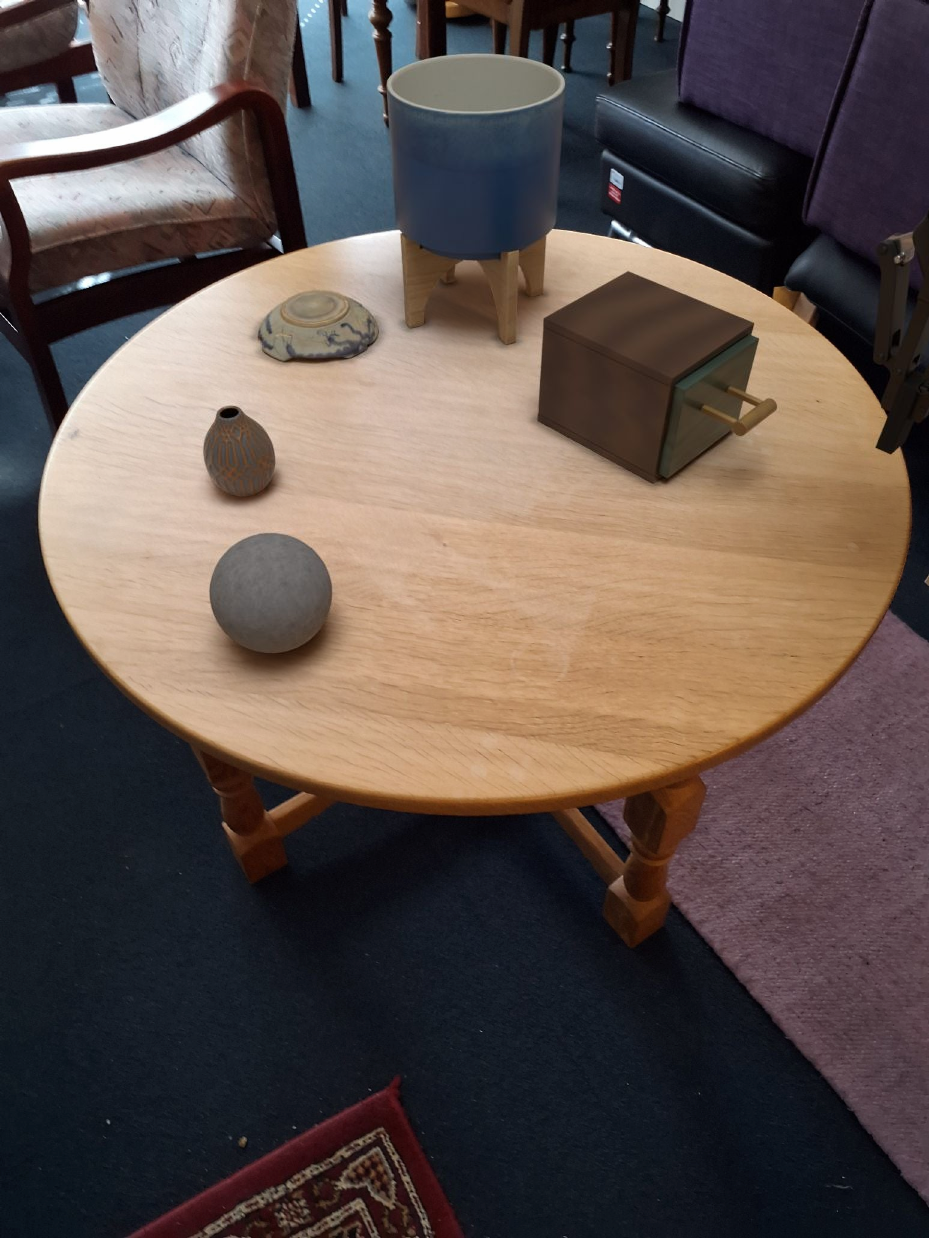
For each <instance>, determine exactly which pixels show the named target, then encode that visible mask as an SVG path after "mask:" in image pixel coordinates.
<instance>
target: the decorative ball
mask: <svg viewBox="0 0 929 1238" xmlns="http://www.w3.org/2000/svg"><path fill="white" fill-rule="evenodd" d="M208 590H209V591H208V593H209V602H210V607H211V611H212V614H213V616H214V618H215V620H216V622H217V624H218V626H219V627H220V629H221V630H222V631H223V632H224V633H225V634H226V635H227V637H229V638H230V639H231V640H232V641H234V643H237V644H238V645H240V646H241V647H243V648H246V649H247V650H251V651H253V652H254V651H255V652H258V653H265V654H278V653H286V652H289V651H292V650H295V649H297V648H299V647H301V646H302V645H304V644H306V643H307V642H309V641H310V640H312V639H313V637H315V636H316V634H318V632H319V631H320V630H321V629H322V627H323V626H324V625H325V622H326V620H327V618H328V616H329V614H330V611H331V607H332V602H333V584H332V579H331V576H330V572H329V570H328V568H327V565H326V564H325V562H324V560H322V558H321V556H320V555H319V554H318V553H317V551H315V550H314V548H313V547H311V546H310V545H308V544H307V543H305V542H304V541H303V540H301V539H299V538H296V537H294V536H291V535H289V534H285V533H279V532H263V533H257V534H253V535H250V536H247V537H244V538H243V539H241V540H239V541H237V542H236V543H234V544H233V545H231V546H230V547H229V548H227V550H226V552H224V554H222V556H220V558H219V559H218V561H217V563H216V565H215V567H214V569H213V572H212V575H211V578H210V583H209V589H208Z"/></svg>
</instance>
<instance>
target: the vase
mask: <svg viewBox="0 0 929 1238" xmlns="http://www.w3.org/2000/svg"><path fill="white" fill-rule="evenodd" d="M202 453H203V461H204V465H205V469H206V471H207V474H208V476H209V477H210V478H211V480H212V481H213V482H214V484H215V485H216V486H217V487H218V488H219V489H220V490H222V491H224V492H225V493H227V494H230V495H233V496H236V497H249V496H254V495H256V494H258V493H260V492H261V491H263V490H264V489H265V488H266V487H267V486H268V485H269V483H270V482H271V481H272V479H273V477H274V474H275V469H276V453H275V448H274V445H273V442H272V439H271V437H270V436H269V434H268V432H267V431H266V429H265V428H264V427H263V426H262V424H260V423H258V421H256V420H255V419H253V418H251V417H250V416H248V415H247V414H246V413H245V412H244V411H243V410H242V408H241V407H239V406H237V405H225V406H223V407H221V408H219V409H218V410H217V411H216V414H215V418H214V421H213V422H212V423H211V425H210V427H209V428H208V431H207V432H206V434H205V436H204V440H203V447H202Z"/></svg>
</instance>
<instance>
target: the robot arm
mask: <svg viewBox="0 0 929 1238" xmlns="http://www.w3.org/2000/svg"><path fill="white" fill-rule="evenodd" d="M875 253H876V257H877V261H878V265H879V270H880V275H881V276H880V283H879V285H880V286H879V294H878V302H877V303H878V304H877V315H876V322H875V323H876V325H875V333H874V344H873V353H872V359H873V361H874V363H875V364H876V365H881V366H882V365H883V366H884V367H885V368H887V369H888V371H889V373H890V374H889V378H888V379H889V380H888V382H887V385H886V387H885V390H884V392H883V395H882V398H881V400H880V408H881V409H883V410H885V411H888V414H887V417H886V419H885V422H884V424H883V427H882V429H881V432H880V435H879V437H878V439H877V442H876V444H875V447H874V448H875V449H877V450H879V451H882V452H884V453H886V454H888V455H890V456H891V455H893V454H894V453H895V452H896V451H897V450H898V449H899V448H900V447H901V446H903V445H904V443H906V441H907V439H908V436H909V434H910V432H911V430H912V427H913V424H914V423H917V424H920V423H922V422H923V420H925V419H926V418H927V417H928V416H929V363H927V366H926V369H925V371H924V372H921V371H918V370H915V369H916V368H917V367H918V366H919V365H920V364H921V363H922V362H923V360H921V358H922V357H923V354H924V351H925V349H926V346H927V344H928V341H929V208H928V209H927V213H926V214H925V215H924V217H923V218H922V220H921V221H920V222H919V223H918V224H917V225H916V226H915V227H914V229H913V230H912V231H909V232H906V233H902V232H895V233H893V234H892V235H890V236H889V237H887V238H886V239H885V240H883V241H881V242H880V243H878V245H877V246H876V248H875ZM915 254H916V258H917V262H918V265H919V269H920V273H921V276H922V278H923V281H922V283H921V286H920V289H919V291H918V294H917V297H916V299H917V301H916V304H915V307H914V309H913V313H912V314H911V317H910V320H909V322H908V325H907V328H906V331H905V333H904V326H905V319H906V317H905V316H906V310H907V309H906V308H907V300H908V292H909V291H908V290H909V285H910V284H909V282H910V276H911V275H910V274H911V260H912V259H913V258H914V256H915ZM903 334H904V335H903Z"/></svg>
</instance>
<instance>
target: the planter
mask: <svg viewBox="0 0 929 1238" xmlns="http://www.w3.org/2000/svg"><path fill="white" fill-rule="evenodd" d="M565 95H566V82H565V78H564V77H563V75H562V74H561V72H559V71H558V70H557V69H555V68H553V67H551V66H550V65H548V64H545V63H543V62H541V61H537V60H534V59H531V58H525V57H520V56H515V55H507V54H496V53H459V54H449V55H440V56H435V57H429V58H425V59H422V60H418V61H415V62H412V63H409V64H407V65H405V66H402V67H400V68H399V69H397V70H396V71H394V72H393V73H392V74H391V75H390V76H389V78H388V79H387V80H386V99H387V115H388V128H389V129H388V130H389V143H390V144H389V145H390V158H391V159H390V160H391V171H392V189H393V203H394V219H395V224H396V226H397V229H398V230H399V231H400V232H401V233H400V234H399V235H400V250H401V251H400V252H401V253H400V254H401V266H402V267H401V269H402V282H403V283H402V284H403V298H404V301H403V302H404V313H405V314H404V316H405V324H406V325H407V326H408V328H409V329H412V328H417V327H420V326H423V325H424V316H425V311H426V307H427V303H428V300H429V298H430V296H431V293H432V292H433V290H434V288H435V286H436V285H437V284H438V282H439V281H440V280H442V282H443V283H444V284H449V283H453V282H455V274H456V266H457V265H458V264H460V263H462V262H463V261H468V262H469V261H470V262H471V261H472V262H478V265H479V266H480V268H481V269H482V271H483V273H484V275H485V277H486V280H487V282H488V284H489V287H490V290H491V293H492V297H493V300H494V304H495V308H496V314H497V315H496V316H497V322H498V338H499V340H501V341H502V342H503V343H504V344H505V345H509V344H514V343H516V341H517V316H518V315H517V313H518V288H519V286H518V283H519V268H520V270H521V272H522V275H523V278H524V283H525V293H526V294H527V295H528V296H529V297H530V298H532V297H536V296H540V295H543V294H544V283H545V268H546V267H545V265H546V250H547V249H546V248H547V247H546V246H547V235H548V234H550V232H551V231H553V229H554V227H555V226H556V223H557V216H558V215H557V213H558V200H559V199H558V198H559V184H560V183H559V182H560V171H561V170H560V168H561V155H562V154H561V153H562V152H561V151H562V140H563V139H562V138H563V124H564V122H563V121H564V107H565V104H564V103H565Z"/></svg>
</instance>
